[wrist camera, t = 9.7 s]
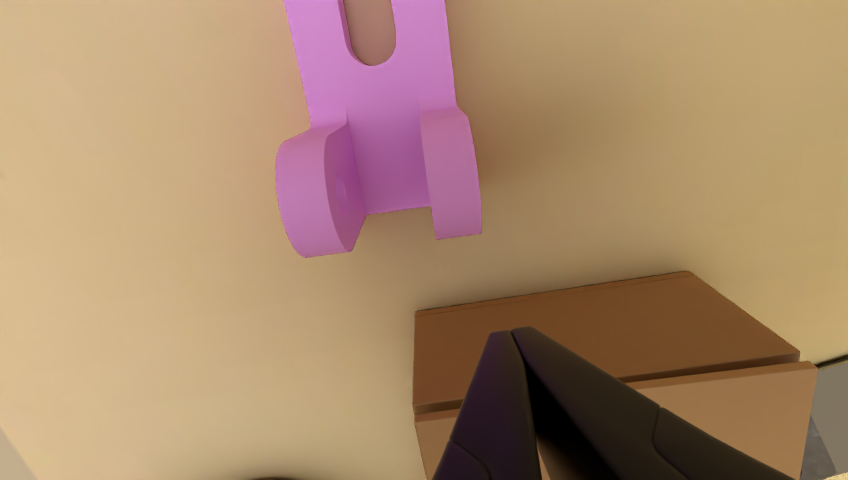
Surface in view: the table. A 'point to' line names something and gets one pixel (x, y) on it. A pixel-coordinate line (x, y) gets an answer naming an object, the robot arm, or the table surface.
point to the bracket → (375, 131)
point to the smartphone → (828, 424)
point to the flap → (746, 408)
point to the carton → (588, 341)
